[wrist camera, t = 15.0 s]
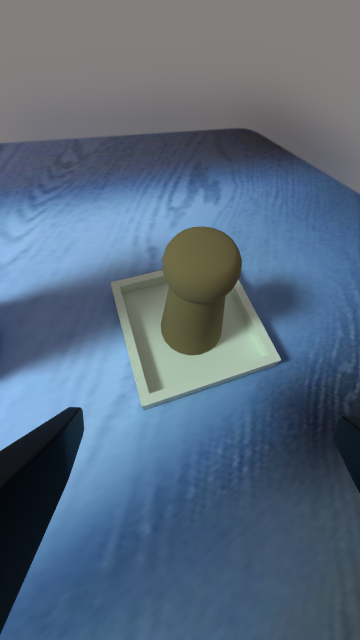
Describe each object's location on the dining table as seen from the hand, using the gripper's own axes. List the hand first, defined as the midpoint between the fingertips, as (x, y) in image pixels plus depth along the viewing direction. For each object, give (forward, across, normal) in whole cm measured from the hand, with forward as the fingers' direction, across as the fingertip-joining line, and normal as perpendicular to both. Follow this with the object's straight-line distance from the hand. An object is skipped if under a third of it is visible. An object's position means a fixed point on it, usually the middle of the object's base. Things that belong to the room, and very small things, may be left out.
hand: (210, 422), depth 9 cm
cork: (+16, 0, +2) cm, 17 cm away
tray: (+17, 0, +2) cm, 17 cm away
